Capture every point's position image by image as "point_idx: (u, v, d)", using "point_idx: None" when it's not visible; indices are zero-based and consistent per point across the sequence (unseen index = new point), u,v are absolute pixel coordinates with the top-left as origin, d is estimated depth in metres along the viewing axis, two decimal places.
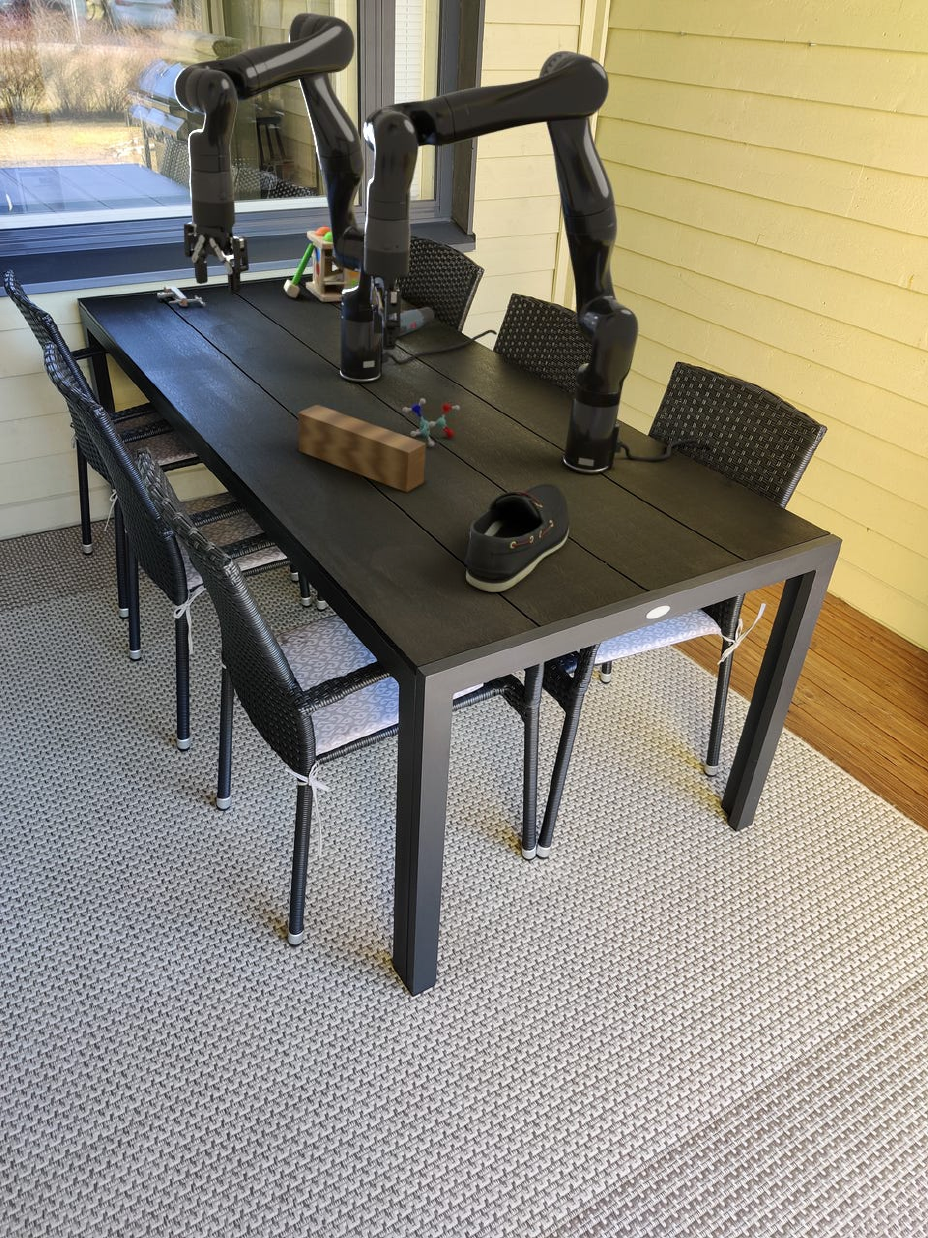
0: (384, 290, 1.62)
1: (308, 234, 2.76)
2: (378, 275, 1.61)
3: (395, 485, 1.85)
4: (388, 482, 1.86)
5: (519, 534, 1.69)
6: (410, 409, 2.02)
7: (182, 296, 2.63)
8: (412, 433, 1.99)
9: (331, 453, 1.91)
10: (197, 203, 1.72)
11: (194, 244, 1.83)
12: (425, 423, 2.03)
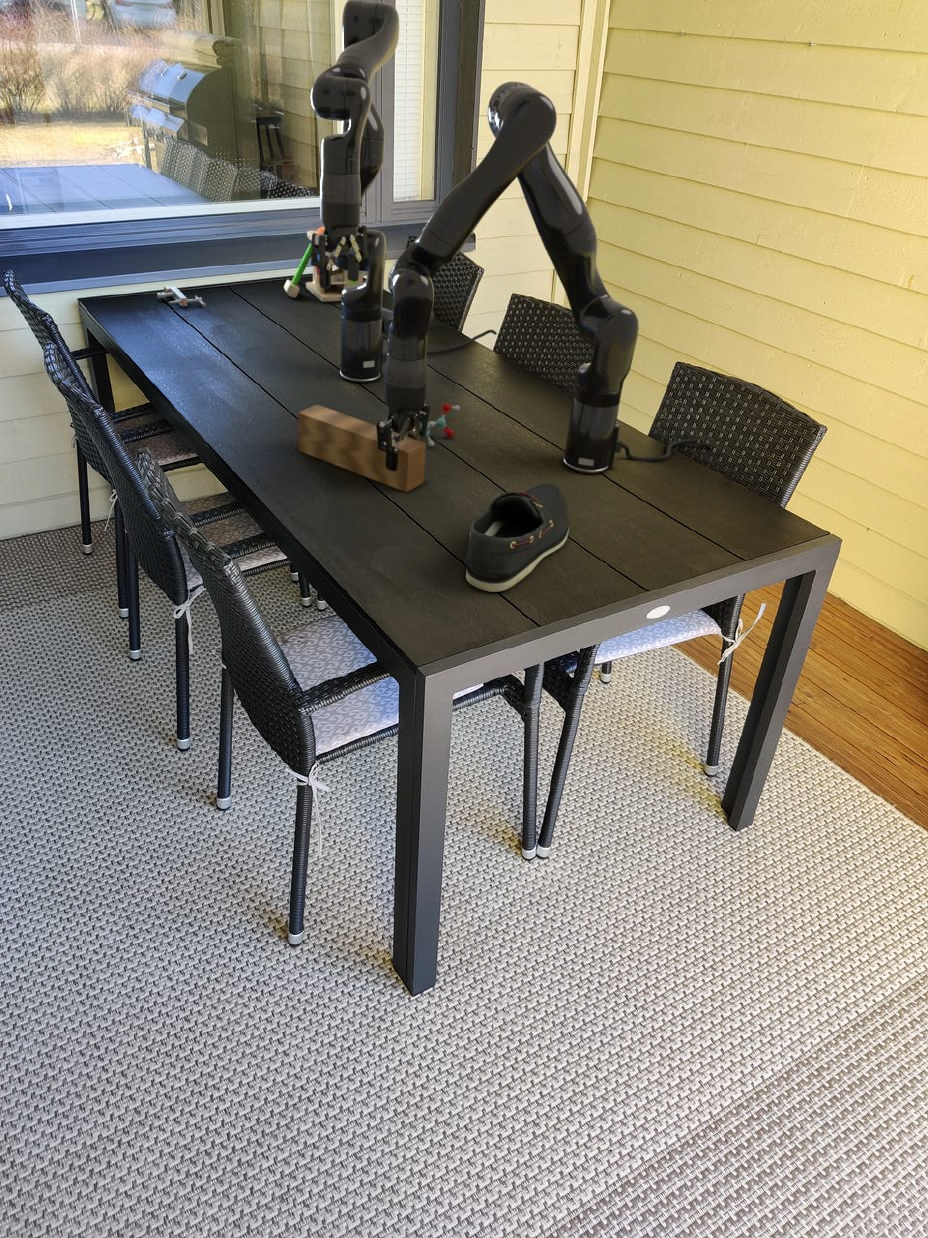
0: None
1: (308, 234, 2.76)
2: (385, 402, 1.77)
3: (395, 485, 1.85)
4: (388, 482, 1.86)
5: (519, 534, 1.69)
6: None
7: (182, 296, 2.63)
8: None
9: (331, 453, 1.91)
10: None
11: None
12: None
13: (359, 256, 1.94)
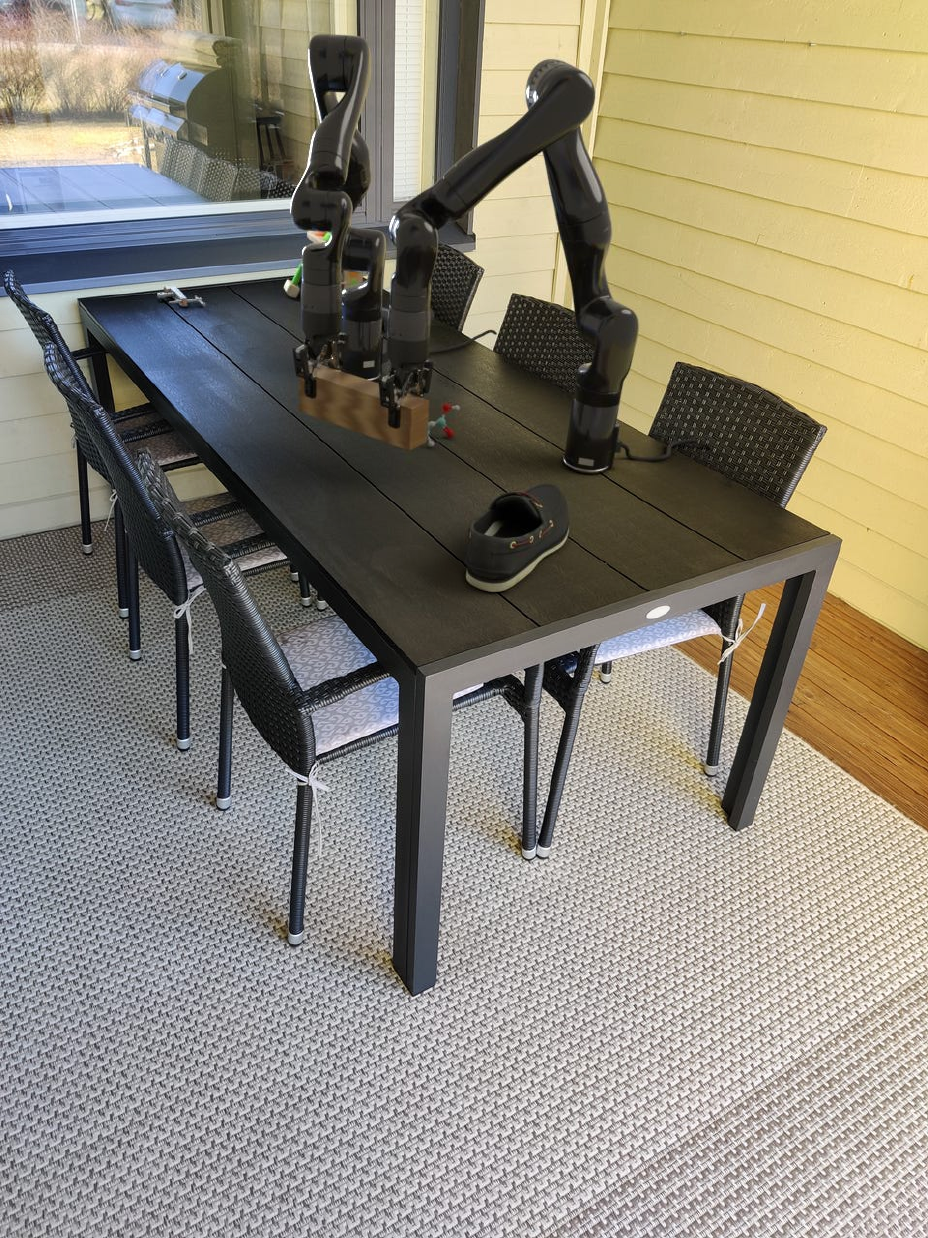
0: (389, 372, 1.73)
1: (308, 234, 2.76)
2: (387, 356, 1.72)
3: (398, 443, 1.80)
4: (391, 440, 1.81)
5: (519, 534, 1.69)
6: None
7: (182, 296, 2.63)
8: None
9: (332, 412, 1.86)
10: None
11: None
12: None
13: (338, 365, 1.88)
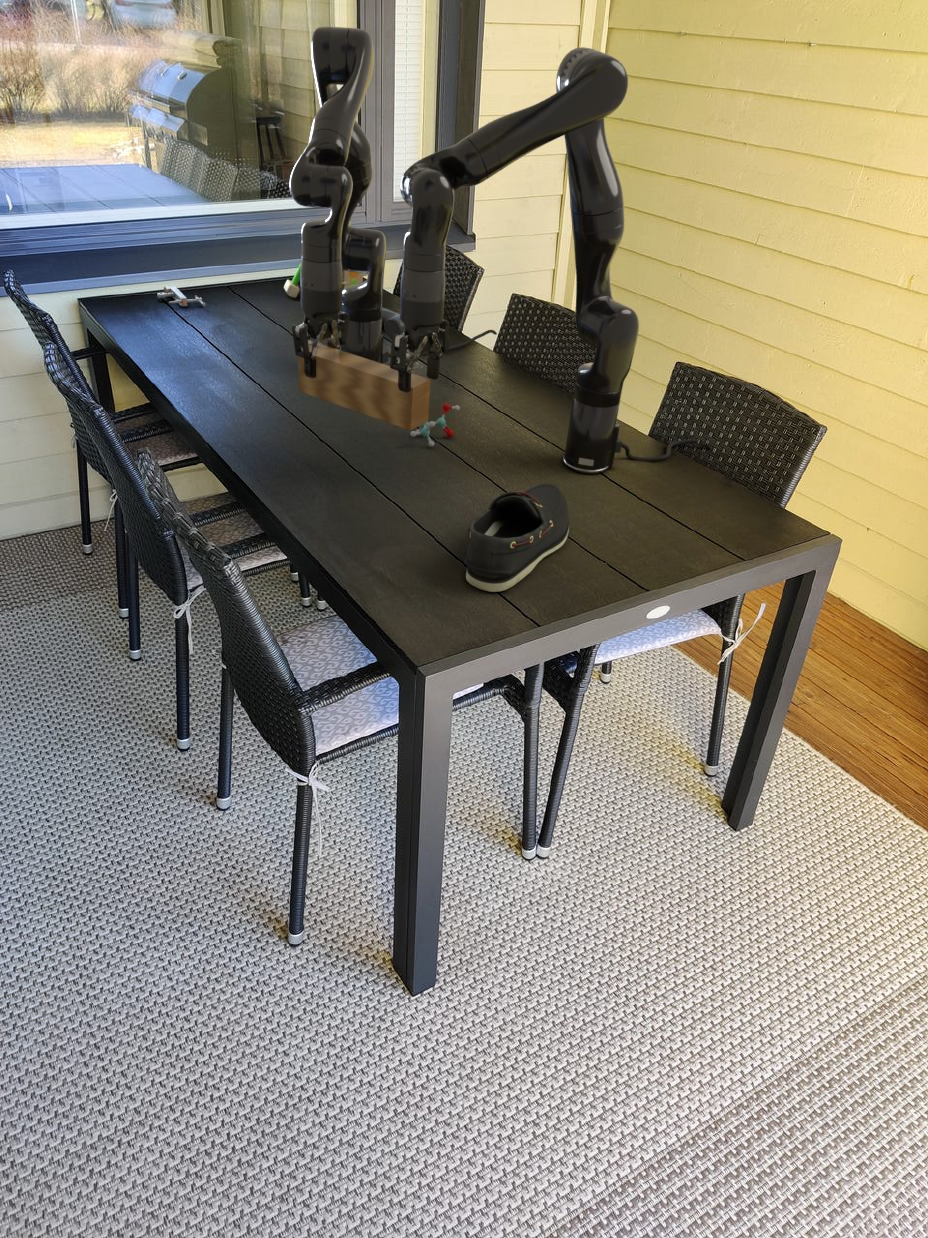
0: (403, 334, 1.68)
1: None
2: (401, 319, 1.67)
3: (399, 423, 1.78)
4: (391, 420, 1.79)
5: (519, 534, 1.69)
6: None
7: (182, 296, 2.63)
8: (412, 433, 1.99)
9: (332, 391, 1.84)
10: None
11: None
12: (425, 423, 2.03)
13: (338, 345, 1.86)
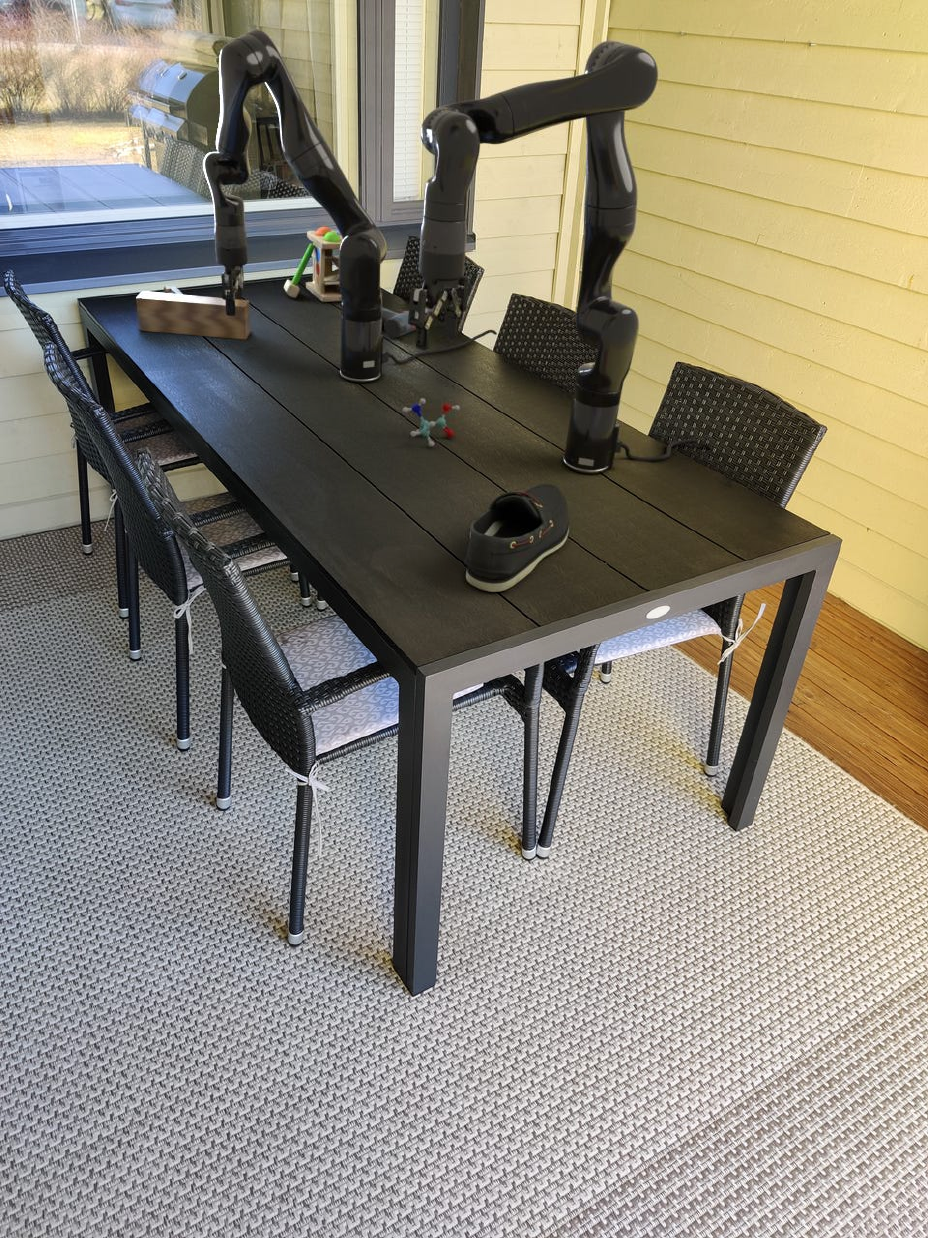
0: None
1: (308, 234, 2.76)
2: (420, 273, 1.61)
3: None
4: None
5: (519, 534, 1.69)
6: (410, 409, 2.02)
7: None
8: (412, 433, 1.99)
9: None
10: (246, 247, 2.37)
11: (224, 291, 2.36)
12: (425, 423, 2.03)
13: None
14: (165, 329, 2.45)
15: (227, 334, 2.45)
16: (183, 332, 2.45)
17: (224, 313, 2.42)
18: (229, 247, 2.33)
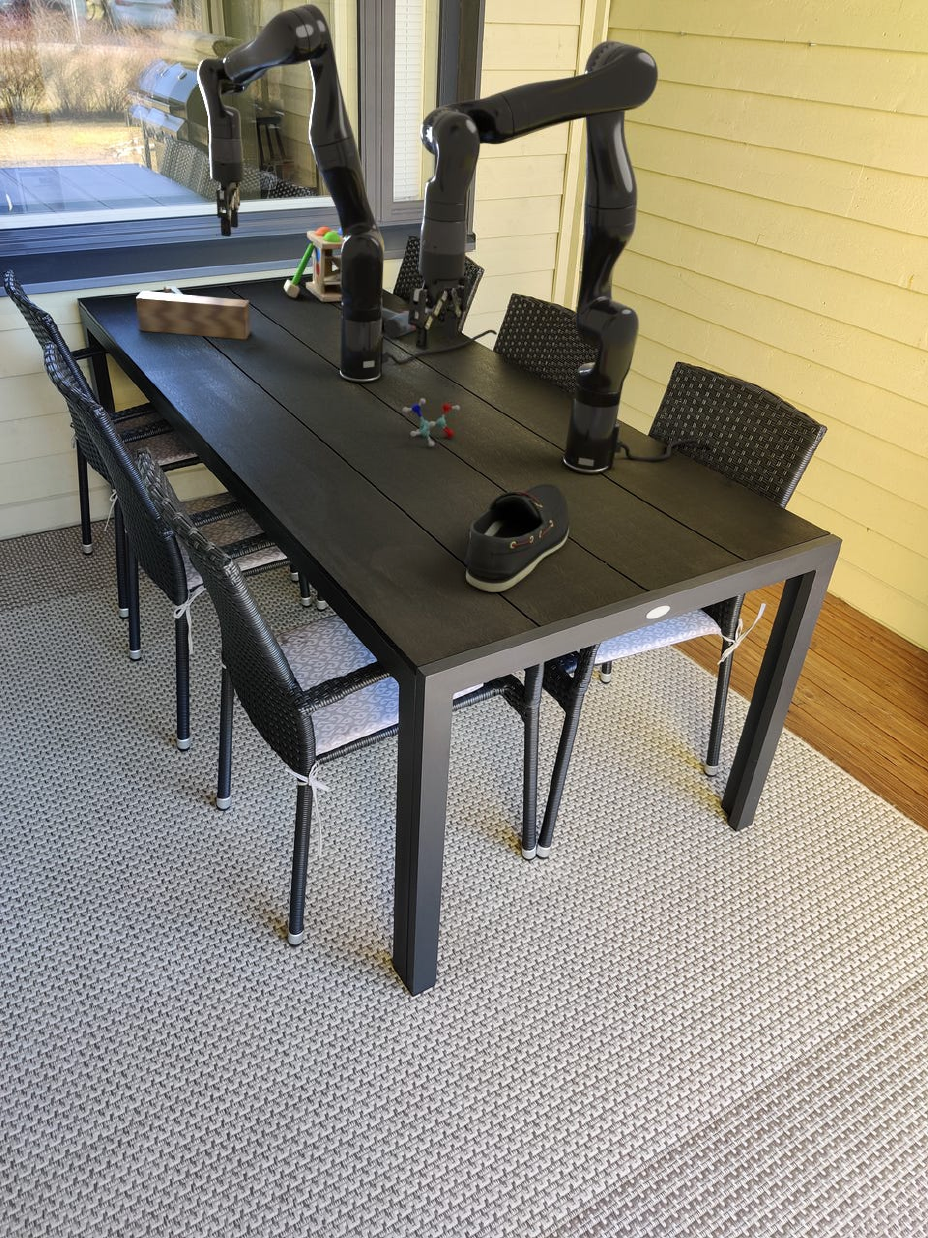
0: None
1: (308, 234, 2.76)
2: (420, 273, 1.61)
3: None
4: None
5: (519, 534, 1.69)
6: (410, 409, 2.02)
7: None
8: (412, 433, 1.99)
9: None
10: None
11: (219, 208, 2.25)
12: (425, 423, 2.03)
13: None
14: (165, 329, 2.45)
15: (227, 334, 2.45)
16: (183, 332, 2.45)
17: (224, 313, 2.42)
18: (224, 161, 2.22)
